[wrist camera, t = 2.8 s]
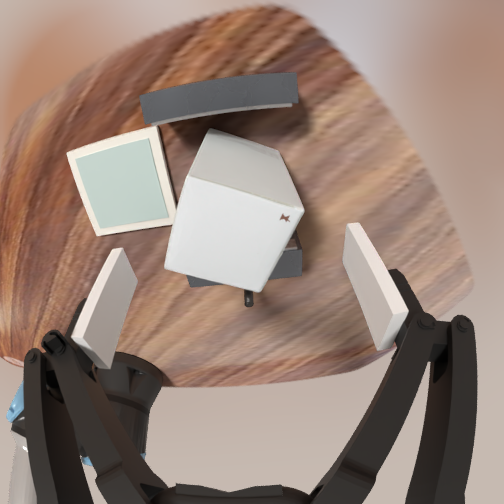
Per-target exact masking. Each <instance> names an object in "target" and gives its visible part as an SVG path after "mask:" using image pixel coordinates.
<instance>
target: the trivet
mask: <svg viewBox="0 0 504 504" xmlns="http://www.w3.org/2000/svg"><path fill="white" fill-rule="evenodd" d="M67 157H68V160H69V163H70V166H71V169H72V172H73V175H74V178H75V181H76V184H77V187H78V190H79V192H80V195H81V198H82V201H83V203H84V206H85V208H86V211H87V213H88V216H89V218H90V221H91V223H92V226H93V228H94V230H95V233H96V235H97V236H101V235H107V234H113V233H119V232H126V231H132V230H138V229H145V228H152V227H159V226H165V225H173V221H174V217H175V213H176V209H177V205H176V201H175V197H174V193H173V189H172V185H171V181H170V177H169V173H168V169H167V164H166V160H165V156H164V151H163V147H162V142H161V137H160V133H159V128H158V125H156V126H152V127H148V128H144V129H140V130H136V131H132V132H128V133H125V134H121V135H117V136H114V137H111V138H107V139H104V140H101V141H98V142H95V143H92V144H89V145H86V146H83V147H80V148H77V149H74V150H71V151H69V152H67Z"/></svg>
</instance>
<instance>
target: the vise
mask: <svg viewBox="0 0 504 504" xmlns="http://www.w3.org/2000/svg"><path fill="white" fill-rule="evenodd" d="M139 97H140V102H141V107H142V112H143V117H144V121H145V124H149V123H151V124H152V126H155V125H160V124H164V123H169V122H174V121H179V120H184V119H189V118H195V117H201V116H207V115H213V114H220V113H227V112H235V111H244V110H253V109H264V108H278V107H292V103H299V102H298V88H297V75H296V73H295V72H282V73H264V74H252V75H242V76H233V77H225V78H218V79H211V80H205V81H199V82H194V83H189V84H184V85H179V86H174V87H170V88H165V89H161V90H157V91H153V92H150V93H146V94H143V95H140V96H139ZM296 276H302V247H301V244H300V241H299V238H298V234H297V231H296V228H295V230H294V232H293V234H292V236H291V237H290V239H289V241H288V243H287V245H286V247H285V249H284V251H283V253H282V255H281V256H280V258H279V260H278V262H277V263H276V265H275V267H274V269H273V271H272V273H271V274H270V276H269V278H268V280H270V279H279V278H288V277H296ZM187 278H188V281H189V284H190V287H201V286H212V285H223V284H222V283H218V282H214V281H210V280H206V279H202V278H198V277H194V276H190V275H187ZM244 298H245V306H246V307H252V306H253V291H250V290H246V289H244Z"/></svg>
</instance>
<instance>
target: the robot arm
mask: <svg viewBox="0 0 504 504" xmlns="http://www.w3.org/2000/svg"><path fill="white" fill-rule="evenodd" d="M342 262H343V264H344V267H345V269H346V271H347V274H348V276H349V279H350V281H351V283H352V286H353V288H354V291H355V293H356V296H357V298H358V301H359V303H360V306H361V308H362V311H363V314H364V316H365V319H366V322H367V324H368V327H369V330H370V333H371V335H372V338H373V341H374V344H375V347H376V349H377V351H380V350H384V349H389V348H391V347H392V345H393V343H394V341H395V343H396V345H397V349H396V351H395V353H394V355H393V357H392V361H391V363H390V365H389V367H388V369H387V372H386V374H385V376H384V378H383V380H382V382H381V384H380V386H379V388H378V390H377V392H376V394H375V396H374V398H373V400H372V402H371V404H370V406H369V408H368V409H367V411H366V413H365V415H364V417H363V418H362V420H361V422H360V423H359V425H358V427H357V429H356V430H355V432H354V433H353V435H352V437H351V438H350V440H349V441H348V443H347V445H346V446H345V448H344V449H343V451H342V452H341V454H340V455H339V457H338V458H337V460H336V461H335V463H334V464H333V466H332V467H331V468H330V470H329V471H328V472H327V473H326V474H325V476H324V477H323V478H322V479H321V481H320V482H319V483H318V485H317V486H316V487H315V489H314V490H313V491H312V492H311V494H310V495H308V494H306V493H305V492H302V491H300V490H297V489H294V488H290V487H284V486H282V485H270V486H255V487H250V488H246V489H242V490H238V491H234V492H225V491H221V490H217V489H213V488H208V487H204V486H199V485H186V484H177V483H176V486H174V487H170V488H168V486H167V485H166V484H165V483H164V482H163V481H162V480H161V479H160V478H159V477H158V476H157V475H156V474H154V473H153V471H152V470H151V469H150V468H149V466H148V465H147V463H146V462H145V460H144V459H145V455H146V453H145V451H146V440H147V431H148V422H149V413H150V408H151V407H152V405H153V402H154V401H155V399H156V397H157V395H158V393H159V391H160V390H161V387H162V381H163V376H162V374H161V372H160V371H159V370H158V369H157V368H156V367H154V366H153V365H152V364H150V363H148V362H146V361H144V360H142V359H140V358H138V357H135V356H132V355H129V354H124V353H119V352H115V350H116V346H117V343H118V340H119V336H120V333H121V330H122V327H123V323H124V320H125V317H126V314H127V311H128V308H129V305H130V302H131V299H132V296H133V294H134V291H135V288H136V285H137V282H138V280H137V278H136V276H135V274H134V272H133V270H132V268H131V265H130V263H129V261H128V259H127V256H126V254H125V252H124V249H123V248H117V249H112V251H111V253H110V255H109V256H108V258H107V260H106V262H105V264H104V266H103V268H102V270H101V272H100V274H99V276H98V278H97V280H96V282H95V284H94V286H93V288H92V290H91V292H90V294H89V296H88V298H84V299H83V300H82V302H81V303H80V304H79V305H78V307H77V309H76V312H75V314H74V316H73V320H72V321H71V323H70V325H69V327H68V330H67V332H66V335H65V337H63V335H62V334H61V333H60V332H59V331H58V330H51V331H49V332H48V333H47V334H46V335H45V336H44V337H43V339H42V342H41V346H42V347H43V348H44V349H45V351H46V352H45V353H42V352H41V351H40V350H39V349H37V348H32V349H31V350H29V351H28V353H27V354H26V356H25V359H24V380H23V381H22V384H21V385H20V387H19V389H18V391H17V393H16V395H15V397H14V399H13V401H12V404H11V406H10V408H9V410H8V413H7V416H6V417H7V419H8V420H9V422H11V423H12V428H11V434H12V436H13V438H14V440H15V442H16V449H15V454H14V460H13V466H12V472H11V480H10V488H9V501H8V504H94V503H93V500H92V496H91V493H90V490H89V487H88V483H87V480H86V477H85V473H84V470H83V466H82V463H83V464H86V465H89V466H93V467H94V469H95V471H96V473H97V477H96V479H95V482H96V484H97V487H98V489H99V490H100V492H101V494H102V495H103V497H104V499H105V500H106V502H107V503H108V504H362V503H363V501H364V500H365V499H366V497H367V496H368V494H369V493H370V491H371V489H372V487H373V486H374V484H375V481H376V475H377V473H378V471H379V470H380V468H381V466H382V465H383V463H384V461H385V459H386V457H387V456H388V454H389V452H390V450H391V448H392V446H393V444H394V442H395V440H396V438H397V436H398V434H399V432H400V430H401V428H402V426H403V424H404V421H405V419H406V417H407V415H408V413H409V410H410V408H411V406H412V403H413V400H414V398H415V396H416V393H417V391H418V388H419V385H420V383H421V380H422V377H423V374H424V372H425V369H426V366H427V362H431V363H430V378H429V389H428V397H427V406H426V413H425V419H424V425H423V431H422V436H421V441H420V446H419V451H418V455H417V459H416V464H415V467H414V471H413V475H412V478H411V482H410V485H409V489H408V493H407V497H406V502H405V504H465V495H464V493H465V489H466V484H467V480H468V475H469V470H470V465H471V459H472V453H473V446H474V436H475V428H476V414H477V356H476V342H475V332H474V326H473V323H472V322H471V320H470V319H469V318H467V317H466V316H463V315H457V316H455V317H454V318H453V320H452V321H451V322H445V321H437V320H436V319H435V318H434V317H433V316H432V315H430V314H429V313H425V312H424V311H423V309H422V307H421V305H420V303H419V301H418V300H417V298H416V296H415V294H414V292H413V291H412V290H411V287H410V285H409V284H408V282H407V280H406V278H405V277H404V275H403V274H402V273H401V272H399V271H398V270H397V269H391V270H387V269H386V267H385V265H384V264H383V262H382V260H381V258H380V257H379V255H378V253H377V251H376V250H375V248H374V246H373V245H372V243H371V241H370V240H369V238H368V236H367V235H366V233H365V232H364V230H363V228H362V227H361V225H360V224H359V223H349V224H347V225H346V234H345V243H344V251H343V259H342ZM93 363H94V370H93V369H92V364H93ZM80 455H81V456H82V457H81V459H80ZM81 460H82V462H81ZM282 493H283V494H282Z"/></svg>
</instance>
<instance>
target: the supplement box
mask: <svg viewBox="0 0 504 504" xmlns="http://www.w3.org/2000/svg"><path fill="white" fill-rule="evenodd" d="M304 212H305V210H304V207H303V205H302V202H301V200H300V198H299V195H298V193H297V191H296V188H295V186H294V184H293V182H292V179H291V177H290V175H289V172H288V170H287V168H286V166H285V164H284V161H283V159H282V157H281V155H280V153H279V151H278V150H275V149H273V148H270V147H267V146H264V145H261V144H259V143H256V142H253V141H250V140H247V139H244V138H241V137H238V136H235V135H232V134H229V133H226V132H222V131H219V130H216V129H212V128H210V129H209V130H208V132H207V134H206V136H205V138H204V140H203V142H202V144H201V146H200V149H199V151H198V153H197V155H196V158H195V160H194V162H193V164H192V166H191V169H190V171H189V173H188V175H187V177H186V180H185V182H184V186H183V189H182V192H181V195H180V199H179V202H178V206H177V209H176V213H175V217H174V221H173V226H172V230H171V235H170V239H169V244H168V249H167V254H166V259H165V265H164V268H165V269H167V270H171V271H175V272H178V273H182V274H186V275H190V276H194V277H198V278H202V279H206V280H210V281H214V282H218V283H222V284H227V285H231V286H235V287H238V288H242V289H246V290H250V291H254V292H260V291H262V289H263V287H264V285H265V284H266V282H267V280H268V278H269V276H270V274H271V273H272V271H273V269H274V267H275V265H276V263H277V262H278V260H279V258H280V256H281V255H282V253H283V251H284V249H285V247H286V245H287V243H288V241H289V239H290V237H291V236H292V234H293V232H294V230H295V228H296V226H297V224H298V223H299V221H300V219H301V217H302V215H303V214H304Z"/></svg>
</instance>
